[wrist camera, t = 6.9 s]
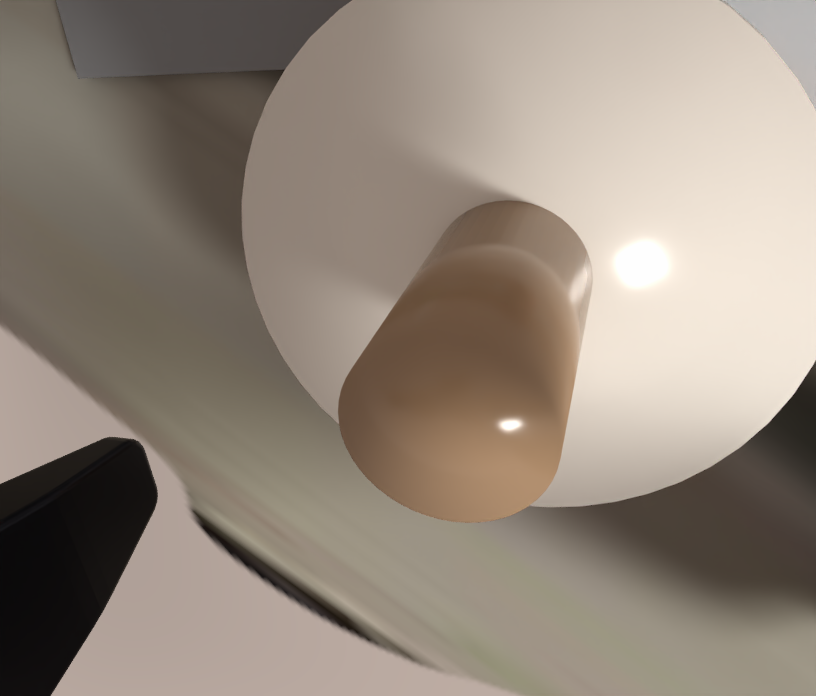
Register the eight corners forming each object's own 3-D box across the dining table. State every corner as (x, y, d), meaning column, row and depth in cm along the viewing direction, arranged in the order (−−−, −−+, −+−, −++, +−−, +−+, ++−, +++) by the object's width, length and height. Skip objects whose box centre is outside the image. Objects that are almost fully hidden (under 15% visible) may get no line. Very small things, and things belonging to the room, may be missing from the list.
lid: (782, 506, 16) (837, 780, 11) (306, 451, 19) (181, 644, 14) (902, -96, 10) (1121, -103, 5) (213, -30, 14) (-43, 4, 9)
